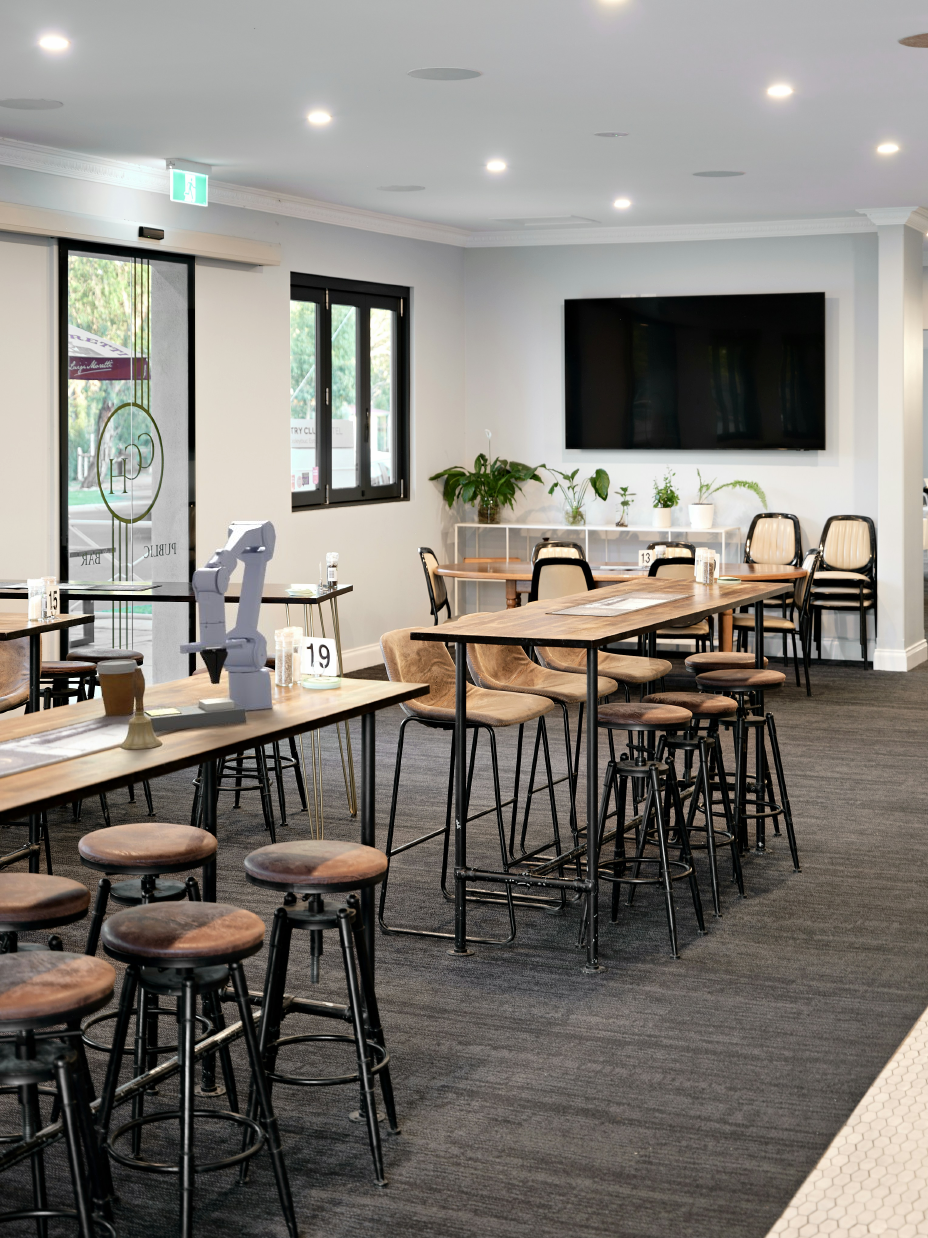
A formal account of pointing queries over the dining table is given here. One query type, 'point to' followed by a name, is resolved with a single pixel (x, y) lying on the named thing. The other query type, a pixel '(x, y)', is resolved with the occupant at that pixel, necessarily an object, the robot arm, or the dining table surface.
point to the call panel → (196, 718)
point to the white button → (216, 704)
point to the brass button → (162, 712)
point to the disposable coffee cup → (117, 686)
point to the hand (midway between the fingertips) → (215, 683)
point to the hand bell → (140, 719)
